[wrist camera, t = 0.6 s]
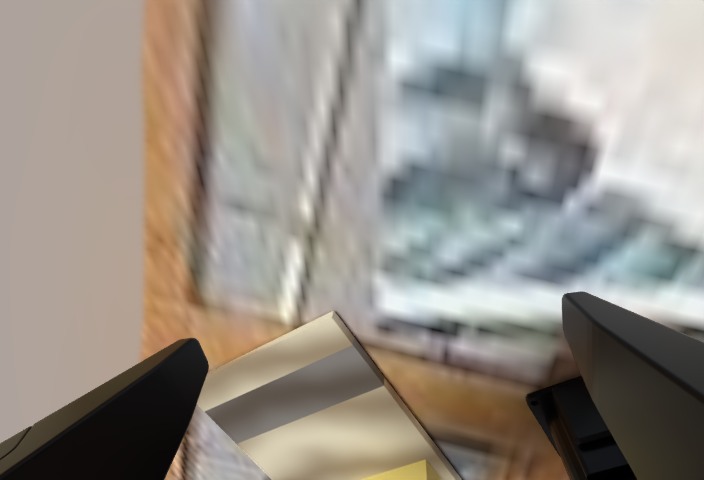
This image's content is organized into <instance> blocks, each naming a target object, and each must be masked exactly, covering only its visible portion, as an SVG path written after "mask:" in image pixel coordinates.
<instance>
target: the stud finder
mask: <svg viewBox="0 0 704 480" xmlns="http://www.w3.org/2000/svg"><path fill="white" fill-rule="evenodd" d="M361 480H441V478H440V477H439V476H438V475H437V473H436V472H435V471H434V469H433V468H432V467H431V466H430V464H429V463H428V462H427V461H426V459H425V460H422V461H419V462H416V463H413V464H409V465H406V466H403V467H400V468H396V469H393V470H390V471H387V472H384V473H380V474H377V475H374V476H371V477H368V478H364V479H361Z"/></svg>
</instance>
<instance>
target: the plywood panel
mask: <svg viewBox="0 0 704 480" xmlns="http://www.w3.org/2000/svg"><path fill="white" fill-rule="evenodd" d="M197 405H198V406H199V407H200V408H201V409H202V410H203V411H204V412H206V413H207V414H208V415H209V416H210V418H211V419H212V420H213V421H214V422H215V423H216V424H217V425H218V426H219V427H220V428H221V429H222V430H223V431H224V432H225V433H226V434H227V435H228V436H229V437H230V438H231V439H232V440H233V441H234V442H235V443H236V444H237V445H238V446H239V447H240V448H241V449H242V450H243V451H244V452H245V453H246V454H247V455H248V456H249V457H250V458H251V459H252V460H253V461H254V462H255V463H256V464H257V465H258V466H259V467H260V468H261V469H262V470H263V471H264V472H265V473H266V474H267V475H268V476H269V477H270V478H271V479H272V480H361V479H364V478H368V477H371V476H374V475H377V474H380V473H384V472H387V471H390V470H393V469H396V468H400V467H403V466H406V465H409V464H413V463H416V462H419V461H422V460H425V459H426V461H427V462H428V463H429V464H430V466H431V467H432V468H433V469H434V471H435V472H436V473H437V475H438V476H439V477H440V478H441V480H462V479H461V478H460V476H459V475H458V474H457V473H456V471H455V470H454V469H453V467H452V466H451V465H450V463H449V462H448V461H447V459H446V458H445V457H444V455H443V454H442V453H441V451H440V450H439V449H438V447H437V446H436V445H435V443H434V442H433V441H432V440H431V438H430V437H429V436H428V434H427V433H426V432H425V430H424V429H423V428H422V426H421V425H420V424H419V422H418V421H417V420H416V418H415V417H414V416H413V414H412V413H411V412H410V410H409V409H408V408H407V407H406V405H405V404H404V403H403V401H402V400H401V399H400V397H399V396H398V395H397V393H396V392H395V391H394V389H393V388H392V387H391V385H390V384H389V383H388V381H387V380H386V379H385V377H384V376H383V375H382V374H381V372H380V371H379V370H378V368H377V367H376V366H375V364H374V363H373V362H372V360H371V359H370V358H369V356H368V355H367V354H366V352H365V351H364V350H363V348H362V347H361V346H360V344H359V343H358V342H357V341H356V339H355V338H354V337H353V335H352V334H351V333H350V331H349V330H348V329H347V327H346V326H345V325H344V323H343V322H342V321H341V319H340V318H339V317H338V315H337V314H336V313H335V311H332V312H330V313H328V314H326V315H324V316H322V317H320V318H318V319H316V320H314V321H311V322H309V323H307V324H305V325H303V326H301V327H299V328H297V329H295V330H293V331H291V332H289V333H287V334H285V335H283V336H281V337H279V338H277V339H275V340H273V341H271V342H269V343H267V344H265V345H263V346H261V347H259V348H257V349H255V350H253V351H251V352H249V353H247V354H245V355H242V356H240V357H238V358H236V359H234V360H232V361H230V362H228V363H226V364H224V365H222V366H220V367H218V368H216V369H214V370H212V371H210V372H208V373H207V376H206V379H205V382H204V385H203V387H202V390H201V393H200V396H199V399H198V402H197Z"/></svg>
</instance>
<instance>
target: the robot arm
mask: <svg viewBox="0 0 704 480" xmlns="http://www.w3.org/2000/svg"><path fill="white" fill-rule="evenodd" d="M562 320H563V331H564V334H565V337H566V340H567V342H568V344H569V347H570V349H571V351H572V354H573V356H574V358H575V361H576V363H577V366H578V368H579V370H580V373H581V375H582V376H580V377H577V378H574V379H571V380H568V381H565V382H562V383H559V384H556V385H553V386H550V387H547V388H544V389H541V390H538V391H536V392H533V393H530V394H528V395H527V396H526V401H527V404H528V406H529V408H530V409H531V411H532V413H533V414H534V416H535V417H536V419H537V421H538V422H539V424H540V425H541V427H542V429H543V430H544V432H545V433H546V435H547V437H548V438H549V440H550V442H551V443H552V445H553V446H554V448H555V450H556V451H557V453H558V454H559V456H560V457H561V459H562V461H563V464H564V466H565V468H566V471H567V473H568V476H569V478H570V480H704V342H702V341H700V340H697V339H695V338H693V337H690V336H688V335H686V334H683V333H681V332H678V331H676V330H674V329H671V328H669V327H667V326H664V325H662V324H660V323H657V322H655V321H652V320H650V319H648V318H645V317H643V316H641V315H638V314H636V313H634V312H631V311H629V310H626V309H624V308H622V307H619V306H617V305H615V304H612V303H610V302H608V301H605V300H603V299H600V298H598V297H596V296H593V295H591V294H589V293H586V292H574V293H567V294H564V295H563V297H562ZM208 369H209V365H208V361H207V359H206V356H205V354H204V352H203V350H202V348H201V345H200V343H199V341H198V340H197V339H195V338H187V339H181V340H178V341H176V342H175V343H173V344H171V345H169V346H168V347H166V348H164V349H163V350H161V351H159V352H157V353H156V354H154V355H152V356H151V357H149V358H147V359H145V360H144V361H142V362H140V363H138V364H137V365H135V366H133V367H132V368H130V369H128V370H126V371H125V372H123V373H121V374H119V375H118V376H116V377H114V378H113V379H111V380H109V381H108V382H106V383H104V384H102V385H101V386H99V387H97V388H95V389H94V390H92V391H90V392H88V393H87V394H85V395H83V396H82V397H80V398H78V399H76V400H75V401H73V402H71V403H69V404H68V405H66V406H64V407H63V408H61V409H59V410H57V411H56V412H54V413H52V414H51V415H49V416H47V417H45V418H44V419H42V420H40V421H39V422H37V423H35V424H34V425H33V426H30V427H28V428H26V429H25V430H23V431H21V432H19V433H18V434H16V435H14V436H12V437H11V438H9V439H7V440H5V441H4V442H2V443H0V480H164V479H165V477H166V475H167V472H168V470H169V468H170V466H171V464H172V462H173V459H174V457H175V455H176V453H177V451H178V449H179V446H180V444H181V442H182V440H183V438H184V435H185V433H186V431H187V429H188V426H189V424H190V421H191V418H192V416H193V413H194V410H195V407H196V404H197V402H198V399H199V396H200V393H201V390H202V387H203V385H204V382H205V379H206V376H207V373H208ZM533 400H535V401H533Z"/></svg>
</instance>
